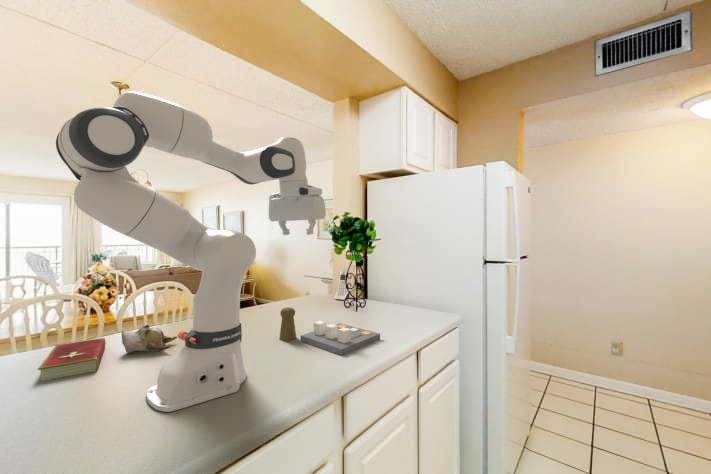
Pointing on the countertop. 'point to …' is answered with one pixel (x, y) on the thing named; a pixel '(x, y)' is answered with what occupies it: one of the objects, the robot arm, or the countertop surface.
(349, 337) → the cream slider knob
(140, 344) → the ceramic sculpture
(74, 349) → the hardcover book
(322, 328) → the switch left
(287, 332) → the cork
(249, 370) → the countertop surface
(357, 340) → the switch panel
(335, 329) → the switch middle
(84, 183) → the robot arm
